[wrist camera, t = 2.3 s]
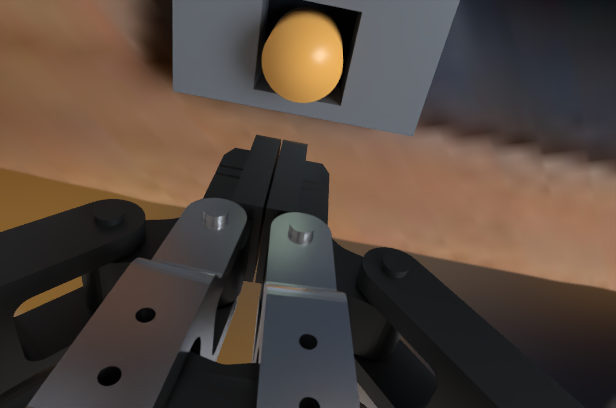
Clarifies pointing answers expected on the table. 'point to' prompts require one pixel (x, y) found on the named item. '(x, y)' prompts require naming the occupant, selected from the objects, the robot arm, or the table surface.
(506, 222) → the table surface
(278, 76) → the orange button
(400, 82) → the button panel
